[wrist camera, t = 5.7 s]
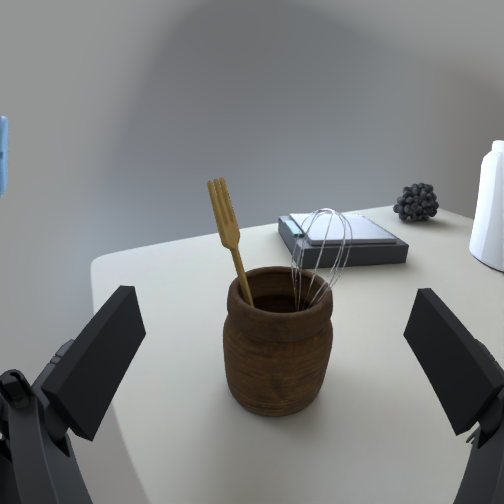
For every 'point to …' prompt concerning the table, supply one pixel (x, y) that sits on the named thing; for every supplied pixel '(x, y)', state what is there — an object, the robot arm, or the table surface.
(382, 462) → the table surface
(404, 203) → the fruit
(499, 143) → the can
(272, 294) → the utensil holder
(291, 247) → the scale
